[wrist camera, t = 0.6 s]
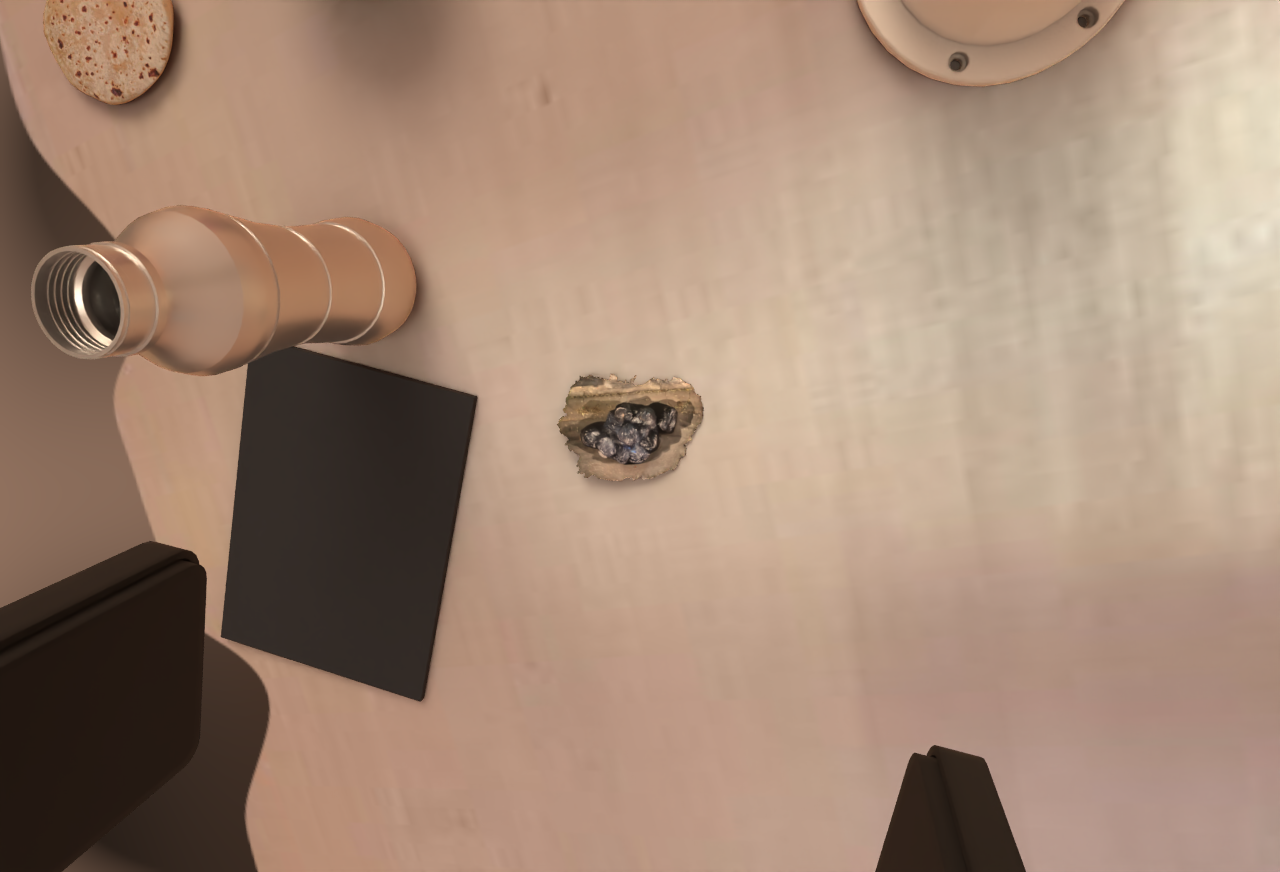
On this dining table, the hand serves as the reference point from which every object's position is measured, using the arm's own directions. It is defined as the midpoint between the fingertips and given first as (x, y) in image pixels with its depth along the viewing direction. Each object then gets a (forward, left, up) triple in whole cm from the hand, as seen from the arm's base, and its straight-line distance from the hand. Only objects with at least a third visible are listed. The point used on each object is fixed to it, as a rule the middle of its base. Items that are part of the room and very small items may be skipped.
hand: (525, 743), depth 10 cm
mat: (+15, -21, -35) cm, 43 cm away
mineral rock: (+4, -5, -35) cm, 35 cm away
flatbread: (-10, -38, -35) cm, 52 cm away
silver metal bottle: (0, -21, -35) cm, 40 cm away
